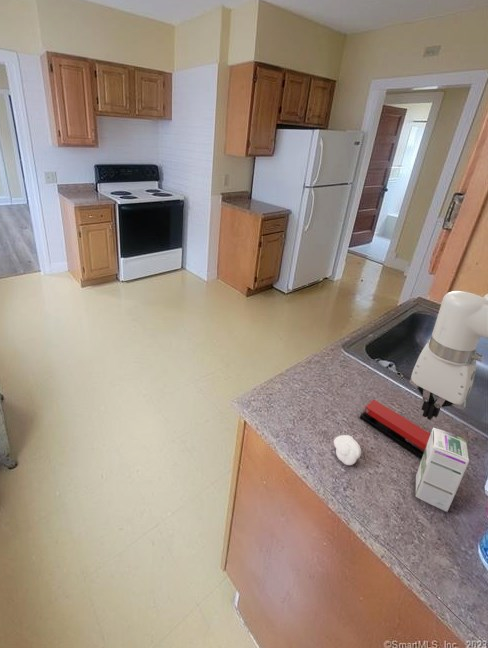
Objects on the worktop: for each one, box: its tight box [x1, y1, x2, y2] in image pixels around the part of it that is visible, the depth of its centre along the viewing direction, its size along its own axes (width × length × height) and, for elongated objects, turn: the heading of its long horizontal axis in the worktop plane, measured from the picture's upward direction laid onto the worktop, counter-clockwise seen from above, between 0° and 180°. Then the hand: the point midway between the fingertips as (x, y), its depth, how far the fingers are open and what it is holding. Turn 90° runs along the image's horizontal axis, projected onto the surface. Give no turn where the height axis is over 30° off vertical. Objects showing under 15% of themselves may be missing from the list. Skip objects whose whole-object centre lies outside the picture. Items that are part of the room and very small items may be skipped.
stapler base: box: [359, 411, 424, 460], centre depth 81 cm, size 16×5×2 cm, turn 38°
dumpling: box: [333, 434, 362, 466], centre depth 75 cm, size 7×5×4 cm
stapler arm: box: [363, 398, 431, 451], centre depth 80 cm, size 15×4×2 cm, turn 38°
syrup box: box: [414, 427, 470, 513], centre depth 65 cm, size 6×6×14 cm
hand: (428, 415), depth 74 cm, fingers closed
